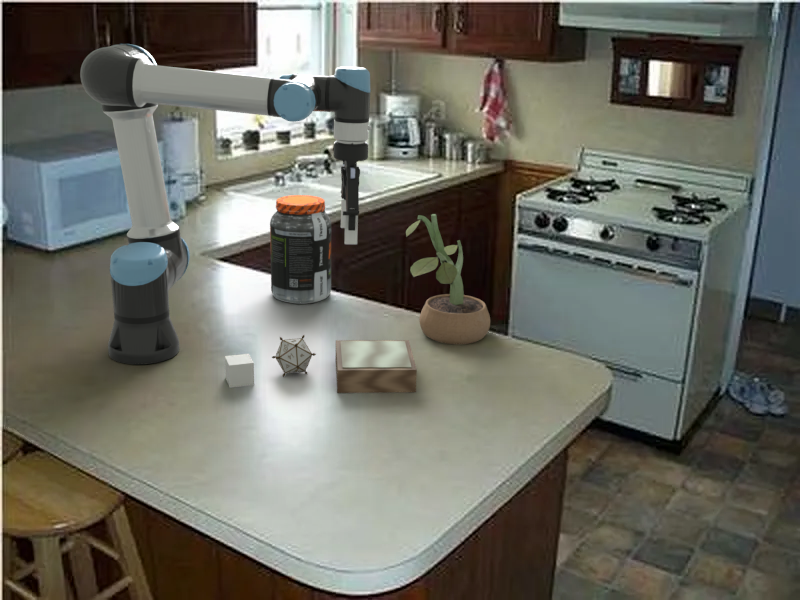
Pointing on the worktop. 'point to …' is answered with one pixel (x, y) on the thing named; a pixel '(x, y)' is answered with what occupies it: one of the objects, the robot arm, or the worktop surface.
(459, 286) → the potted plant
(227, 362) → the grey block
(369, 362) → the walnut framed mirror
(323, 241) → the supplement tub
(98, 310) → the worktop surface
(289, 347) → the game die
